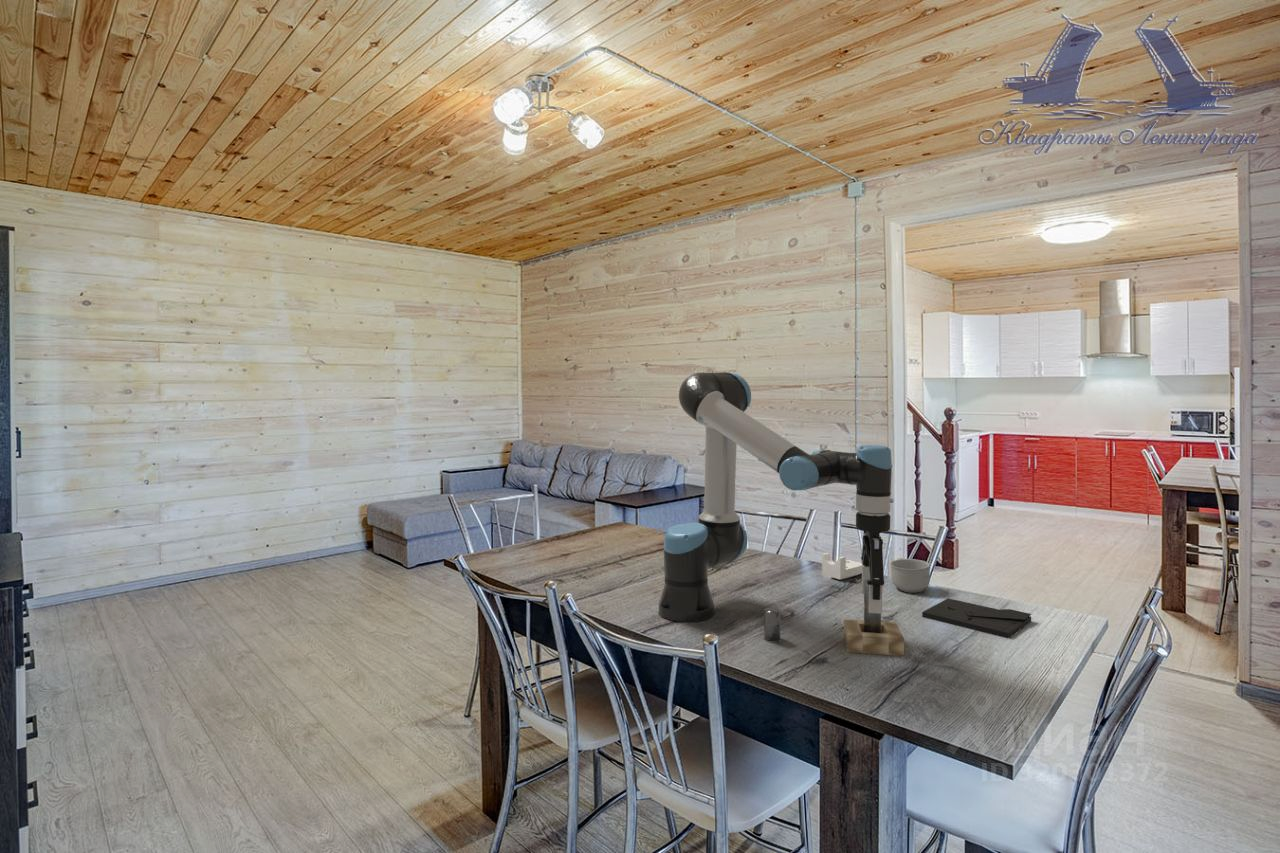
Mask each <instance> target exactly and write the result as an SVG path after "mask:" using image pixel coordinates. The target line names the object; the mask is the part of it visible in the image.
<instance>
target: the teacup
mask: <svg viewBox="0 0 1280 853" xmlns="http://www.w3.org/2000/svg"><path fill="white" fill-rule="evenodd" d="M889 564H890V576H891V582H892V584H893V585H894V586H895V587H896V588H898V590H899V591H900V592H905V593H912V594H913V593H914V594H915V593H920V592H923V591H924V590H925V589H927V588H928V587H929V585H930V581H931V580H930V577H931V576H930V575H931V574H930V571H931V570H930V567H931V564H930V563H929V562H927V561H925V560H920V559H915V558H903V557H898V558H897V559H894V560H892V561H891V562H890V563H889Z"/></svg>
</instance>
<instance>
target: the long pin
mask: <svg viewBox="0 0 1280 853" xmlns="http://www.w3.org/2000/svg"><path fill="white" fill-rule="evenodd" d="M867 581H870V580H865V581H864V593H863V621H864V632H867V633H881V622H882V614H879V613H869V585H867Z"/></svg>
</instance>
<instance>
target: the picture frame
mask: <svg viewBox="0 0 1280 853" xmlns="http://www.w3.org/2000/svg"><path fill="white" fill-rule="evenodd" d="M921 613H922V614H921V616H922V618H924V619H928V620H932V621H933V620H934V621H937V622H940V623H944V624H949V625H953V626H957V627H960V628H964V629H968V630H972V631H977V632H981V633H983V634H990V635H993V636H997V637H1001V638H1005V639H1008V638H1009V639H1010V638H1012V637H1013V636H1014V635H1016V634H1017V633H1019V632H1020V631H1021V630H1022V629H1024V628H1025V627H1026V626H1028V625H1029V624H1030V623H1031V622H1032V616H1031V615H1032V613H1028V612H1024V611H1020V610H1015V609H1011V608H1010V609H1009V608H1005V609H1003V608H1002V609H997V608H994V607H988V606H986V605H985V606H984V605H980V604H975V603H970V602H966V601H962V600H958V599H954V598H946V599H944V600H942V601H940V602H938V603H936V604H935V605H933V606H931V607H929V608H927V609H925V610H924V611H922V612H921ZM1030 621H1031V622H1030ZM1029 622H1030V623H1029ZM1028 623H1029V624H1028ZM1027 624H1028V625H1027ZM1025 625H1026V626H1025ZM1024 626H1025V627H1024ZM1023 627H1024V628H1023ZM1020 629H1021V630H1020ZM1019 630H1020V631H1019ZM1016 632H1017V633H1016ZM1015 633H1016V634H1015ZM1012 635H1013V636H1012Z"/></svg>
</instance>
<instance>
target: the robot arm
mask: <svg viewBox="0 0 1280 853" xmlns="http://www.w3.org/2000/svg"><path fill="white" fill-rule="evenodd" d="M678 400H679V404H680V406H681V408H682V410H683V411H684V412H685V413H686V415H688V416H689V417H691V418H692V419H693V420H694V421H695V422H697V423H698V424H700V425H702V426H703V425H704V427H705V443H704V444H705V445H704V446H705V449H704V450H705V453H704V454H705V456H704V459H705V460H704V500H703V502H704V503H703V505H704V506H703V507H704V508H703V509H704V510H703V511H702V512H701V513H700V514H699V515H698V522H686V523H678V524H674V525H673V526H670V527H669V528H667V529H666V530H665V533H664V536H663V537H664V538H663V541H664V542H663V544H662V545H663V560H664V563H663V564H664V584H663V589H662V592H661V595H660V599H659V601H658V614H659V616H660V617H662V618H664V619H667V620H671V621H675V622H682V623H683V622H684V623H685V622H688V623H690V622H692V623H693V622H698V621H699V622H700V621H703V620H707V619H710V618H711V617H714V615H715V612H716V611H715V608H716V607H715V606H716V605H715V602H714V598H713V596H712V593H711V592H712V591H711V590H710V587H709V581H708V580H709V576H708V575H709V572H708V570H709V569H712V568H715V567H719V566H722V565H726V564H730V563H731V564H732V563H733V562H734V561H736V560H738V559H739V558H741V557H742V556H743V554H744V553H745V551H746V550H747V547H748V534H747V531H746V529H745V527H744V525H743V524H742V523H741V517H740V516H739V514H737V513H736V510H735V506H736V474H737V473H736V472H737V470H736V467H737V466H736V465H737V445H738V446H739V447H740V448H741V449H743V450H745V451H746V452H747V453H749V454H751V455H752V456H753V457H754V458H756V459H758V461H760V462H762V463H763V464H765V465H766V466H768V467H769V468H770V469H772V470H774V471H775V472H776V473H778V474H779V479H780V481H781V483H782V485H783V486H784V487H786V489H789V490H791V491H805V490H809V489H813V488H817V487H822V486H827V485H832V484H843V485H844V484H846V485H852V486H854V485H855V486H856V492H855V510H856V511H857V512H856V514H855V528H856V529H857V530H859V531H862V532H863V535H862V546H861V547H862V549H861V557H860V560H861V563H862V565H864V566H862V574H861V594H864V581H865V580H870V581H867V585H869V613H879V614H881V615H882V613H883V586H884V585H885V578H884V577H885V576H884V553H883V549H884V548H883V544H884V540H883V538H882V537H881V536H880V534H881V533H886V532H889V531H890V530H891V515H890V514H889V513H890V512H891V504H892V503H894V499H893V498H891V495H892V492H891V491H892V470H893V462H892V449H891V448H890V447H889V446H887V445H880V444H879V445H876V444H875V445H874V444H863V445H862V444H861V445H859V446H858V447H857V450H856V452H846V451H837V450H830V449H825V450H822V449H821V450H820V449H819V450H814V451H812V453H811V454H809V453H807V452H806V451H804V450H803V449H801V448H799V447H798V446H796V445H795V444H793V443H792V442H790V441H789V440H788V439H786V438H784V437H783V436H781V435H780V434H778V433H777V432H775V431H773V430H772V429H770V428H769V427H768V426H766V425H764V424H763V423H761V422H760V421H758V420H757V419H755V418H753V417H752V416H750V415H749V414H747V413H746V412H745V411H747V410H748V408H749V407H750V405H751V402H752V391H751V388H750V385H749V383H748V381H746V380H745V379H744V377H742V376H741V375H739V374H738V373H733V372H726V371H725V372H724V371H722V372H703V371H702V372H701V371H700V372H696V373H693V374H690V375H689V376H688V377H686V378H685V379H684V381H683V382H682V384H680V387H679V391H678Z"/></svg>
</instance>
